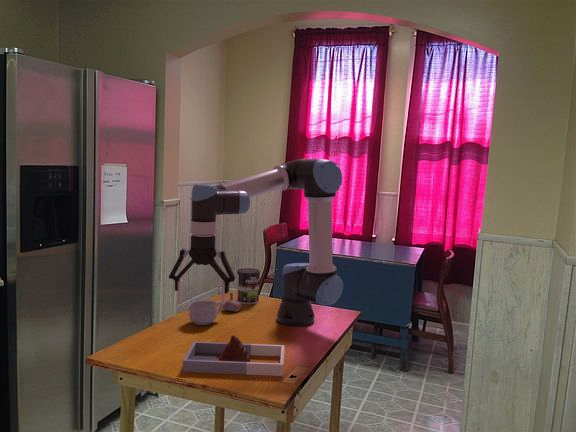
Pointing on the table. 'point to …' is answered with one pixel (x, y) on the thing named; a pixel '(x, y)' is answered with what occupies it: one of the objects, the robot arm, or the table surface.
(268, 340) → the table surface
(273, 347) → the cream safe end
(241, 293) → the coffee can
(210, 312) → the teacup
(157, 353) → the table surface
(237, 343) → the poop emoji
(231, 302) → the garlic bulb
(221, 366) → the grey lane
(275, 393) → the table surface
